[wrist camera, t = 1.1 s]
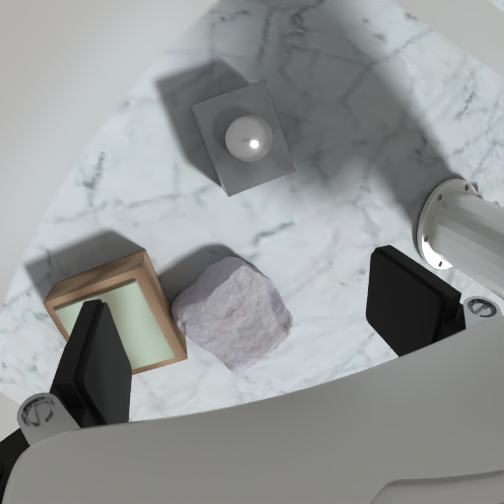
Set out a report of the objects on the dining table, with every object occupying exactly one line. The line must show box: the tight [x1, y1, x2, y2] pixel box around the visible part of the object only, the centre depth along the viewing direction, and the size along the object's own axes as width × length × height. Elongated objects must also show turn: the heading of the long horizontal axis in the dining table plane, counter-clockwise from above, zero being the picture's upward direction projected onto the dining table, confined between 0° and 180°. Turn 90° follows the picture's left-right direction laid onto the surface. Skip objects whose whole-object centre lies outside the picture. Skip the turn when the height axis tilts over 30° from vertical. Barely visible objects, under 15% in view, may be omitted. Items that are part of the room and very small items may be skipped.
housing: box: [191, 81, 295, 197], centre depth 26 cm, size 6×8×6 cm
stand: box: [43, 250, 188, 375], centre depth 30 cm, size 11×11×4 cm
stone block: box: [171, 256, 293, 372], centre depth 34 cm, size 12×5×10 cm
